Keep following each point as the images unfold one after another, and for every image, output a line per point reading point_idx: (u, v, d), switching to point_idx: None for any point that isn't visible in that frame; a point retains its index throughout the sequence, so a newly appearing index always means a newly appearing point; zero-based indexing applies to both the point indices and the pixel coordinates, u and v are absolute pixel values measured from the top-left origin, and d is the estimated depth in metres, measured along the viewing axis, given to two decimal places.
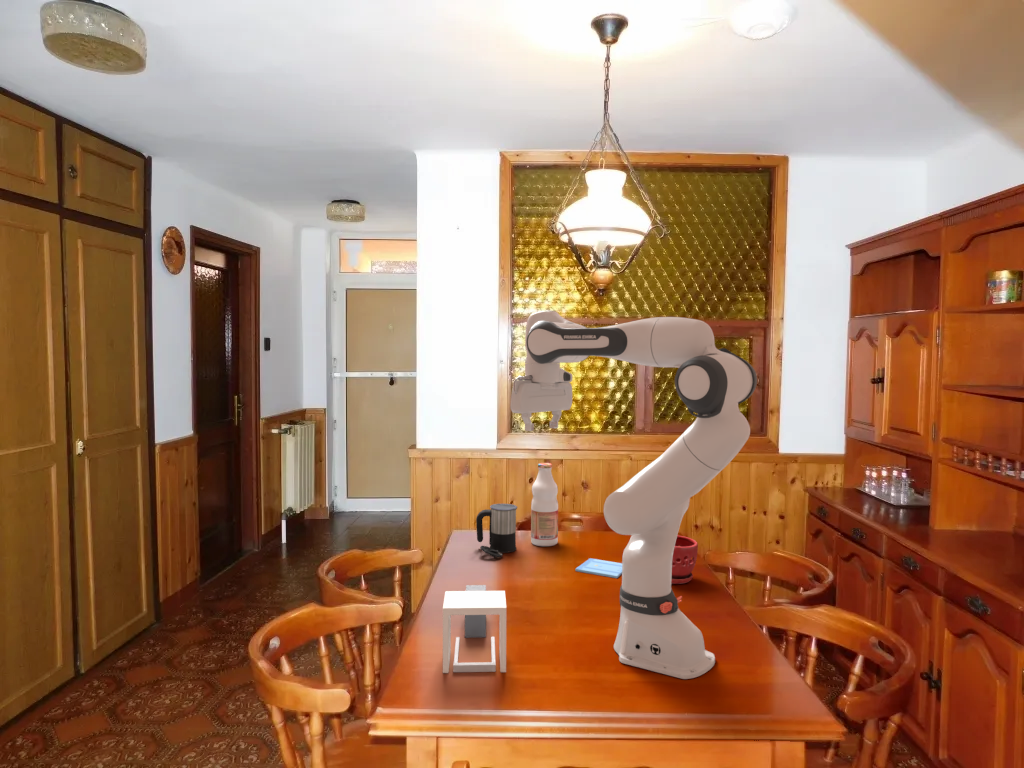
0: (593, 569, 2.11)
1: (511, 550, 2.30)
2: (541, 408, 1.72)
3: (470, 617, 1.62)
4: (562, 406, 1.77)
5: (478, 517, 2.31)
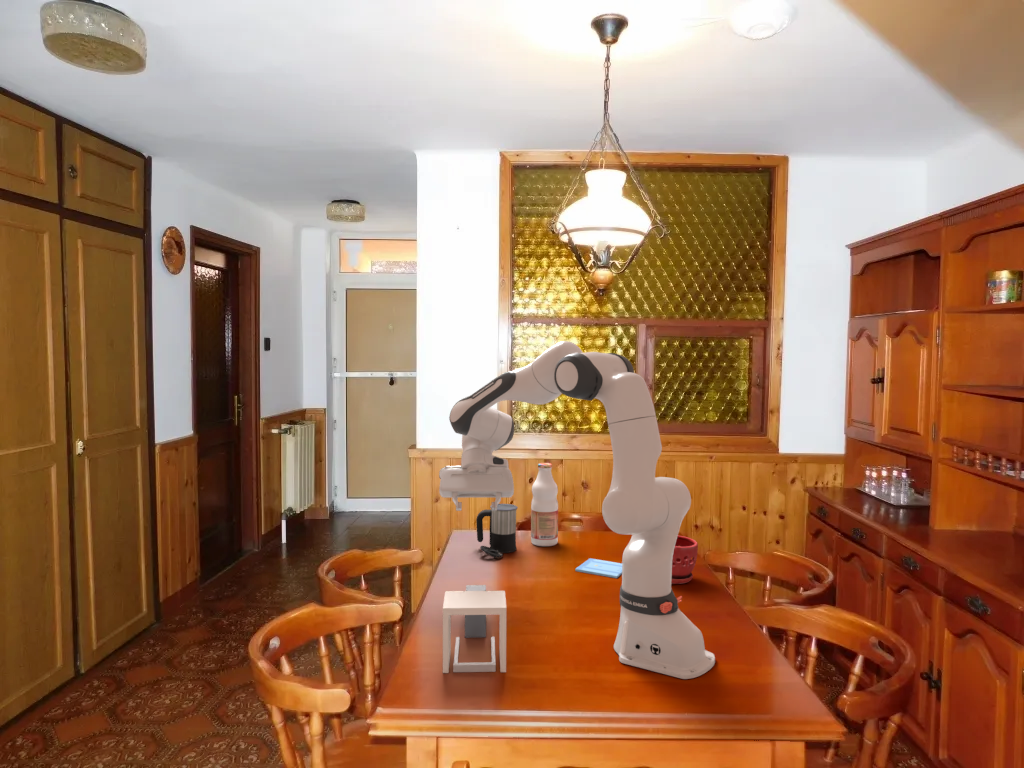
0: (593, 569, 2.11)
1: (511, 550, 2.30)
2: (468, 488, 1.84)
3: (470, 617, 1.62)
4: (498, 487, 1.85)
5: (478, 517, 2.31)
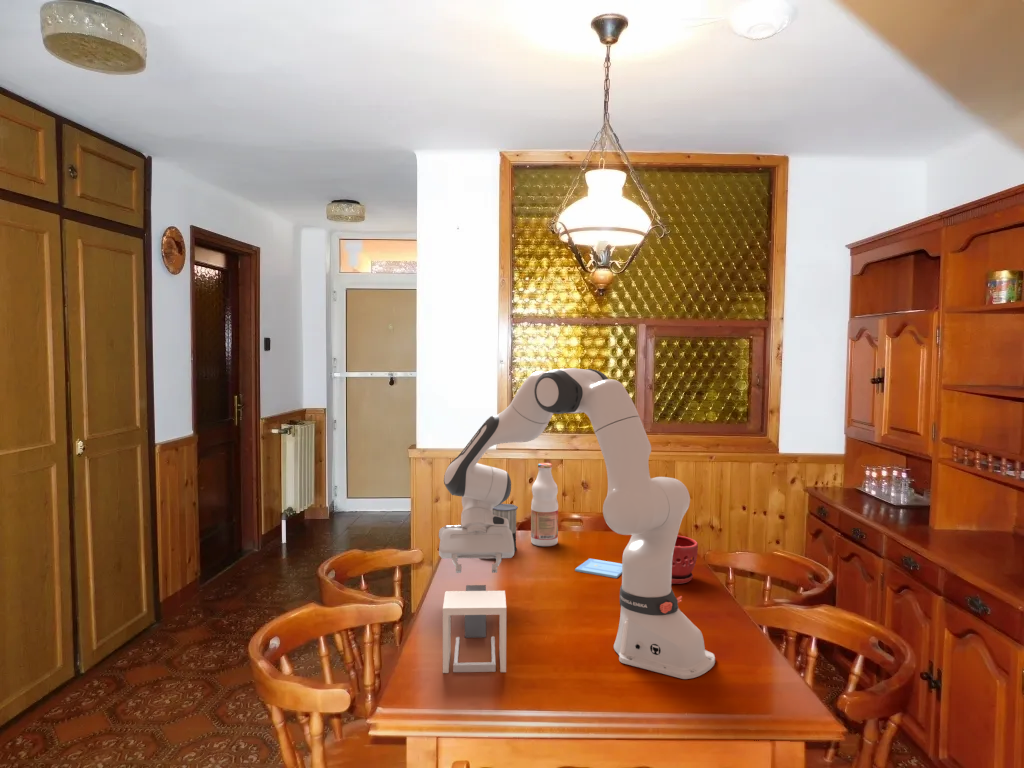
0: (593, 569, 2.11)
1: None
2: (468, 549, 1.82)
3: (470, 617, 1.62)
4: (499, 548, 1.82)
5: None
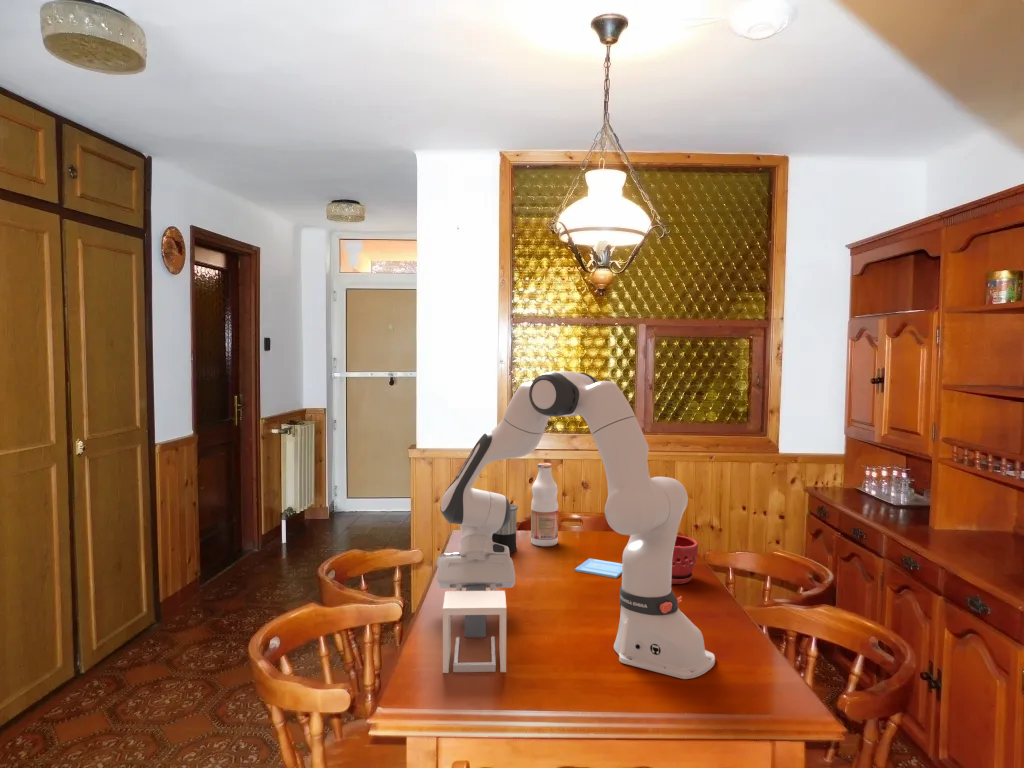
0: (592, 569, 2.11)
1: (511, 550, 2.29)
2: (467, 579, 1.75)
3: (470, 617, 1.62)
4: (499, 578, 1.75)
5: None
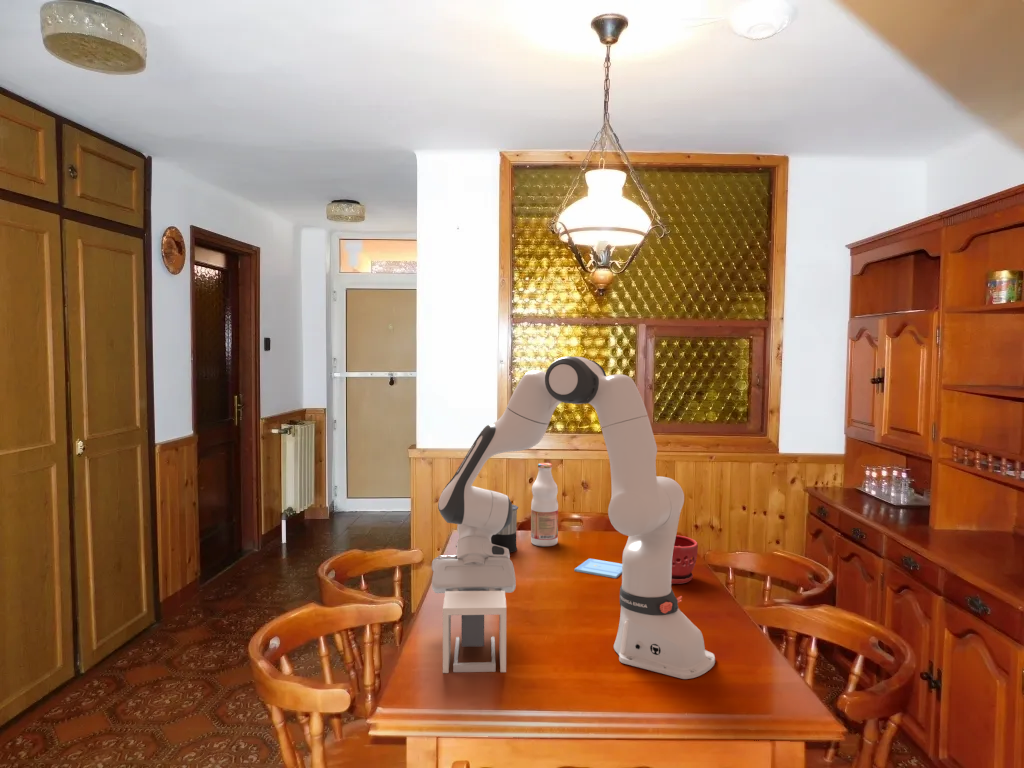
0: (592, 569, 2.11)
1: (511, 550, 2.29)
2: (464, 583, 1.64)
3: (467, 625, 1.51)
4: (498, 582, 1.64)
5: None
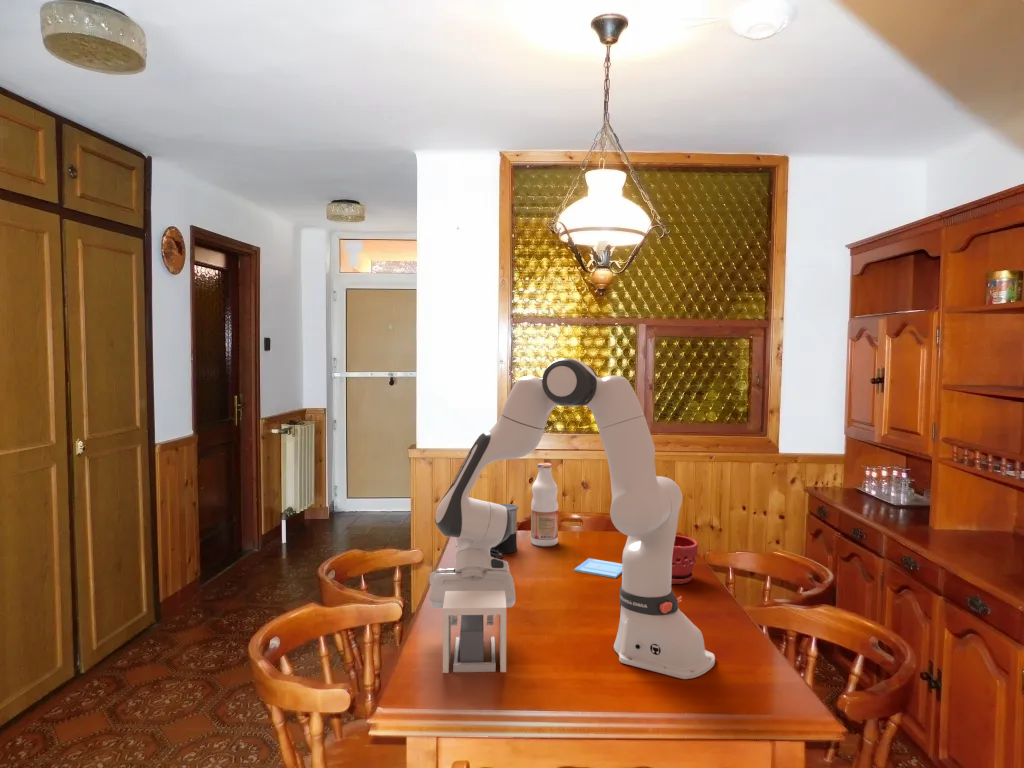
0: (592, 569, 2.11)
1: (512, 550, 2.29)
2: None
3: (466, 646, 1.47)
4: None
5: None
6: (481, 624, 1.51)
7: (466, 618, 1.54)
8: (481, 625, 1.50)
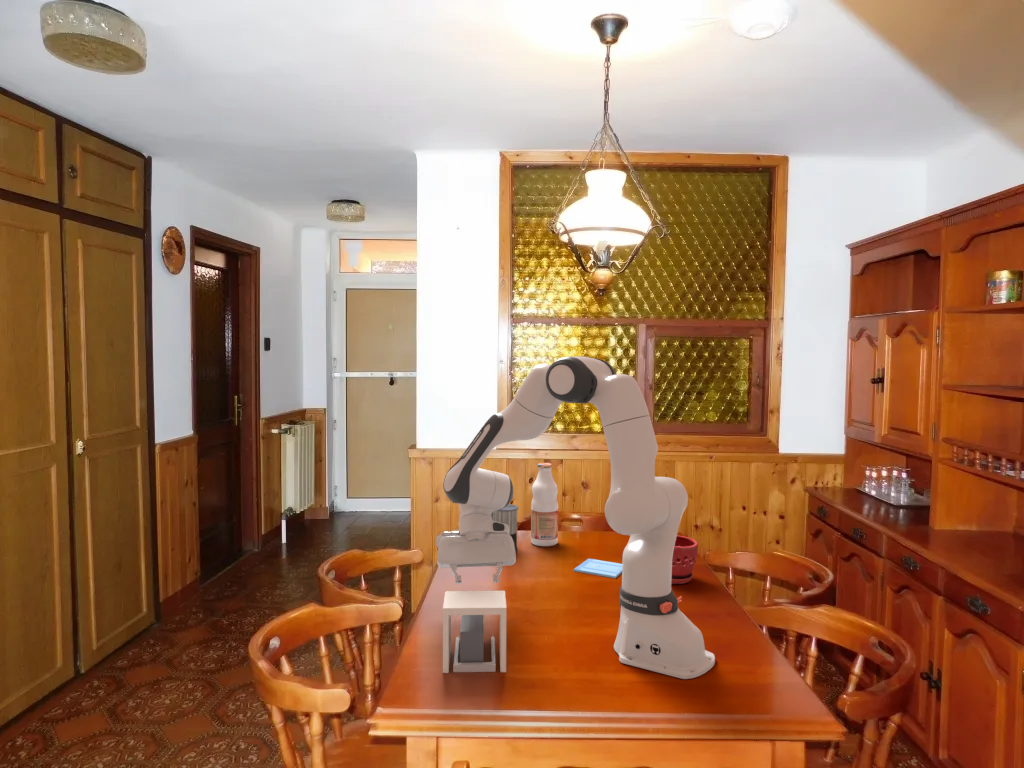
0: (591, 569, 2.11)
1: None
2: (467, 559, 1.74)
3: (466, 646, 1.47)
4: (500, 557, 1.75)
5: None
6: (481, 624, 1.51)
7: (466, 618, 1.54)
8: (481, 625, 1.50)
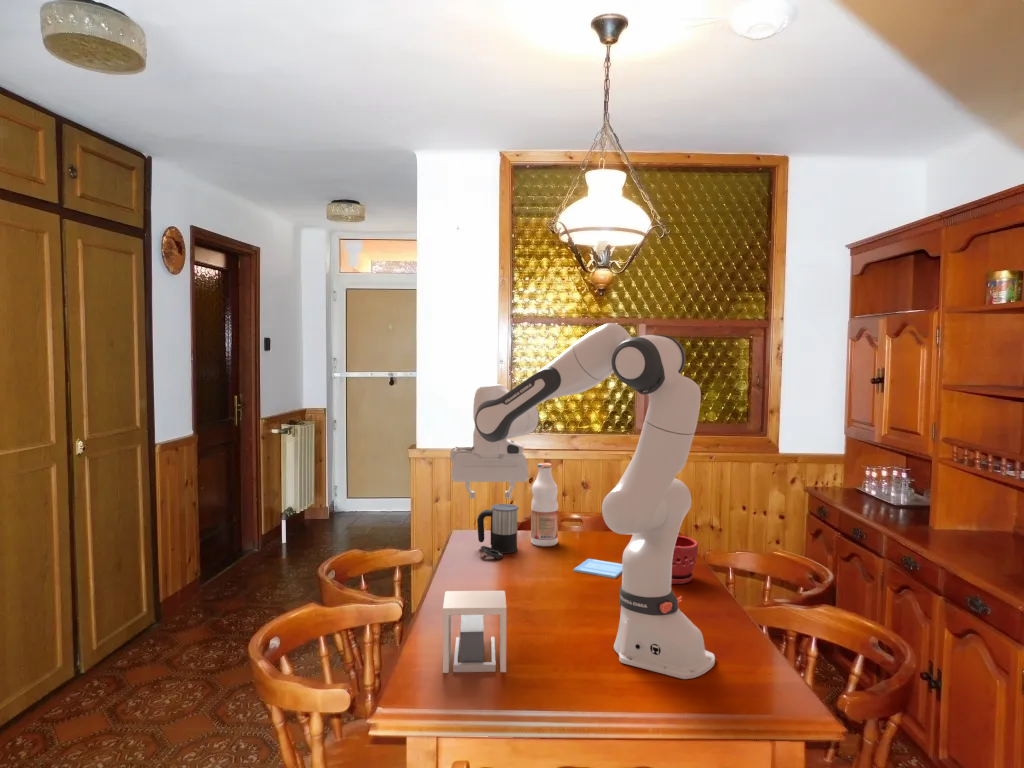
0: (591, 569, 2.11)
1: (512, 551, 2.29)
2: (481, 478, 1.78)
3: (466, 646, 1.47)
4: (512, 478, 1.78)
5: (479, 517, 2.31)
6: (481, 624, 1.51)
7: (466, 618, 1.54)
8: (481, 625, 1.50)
